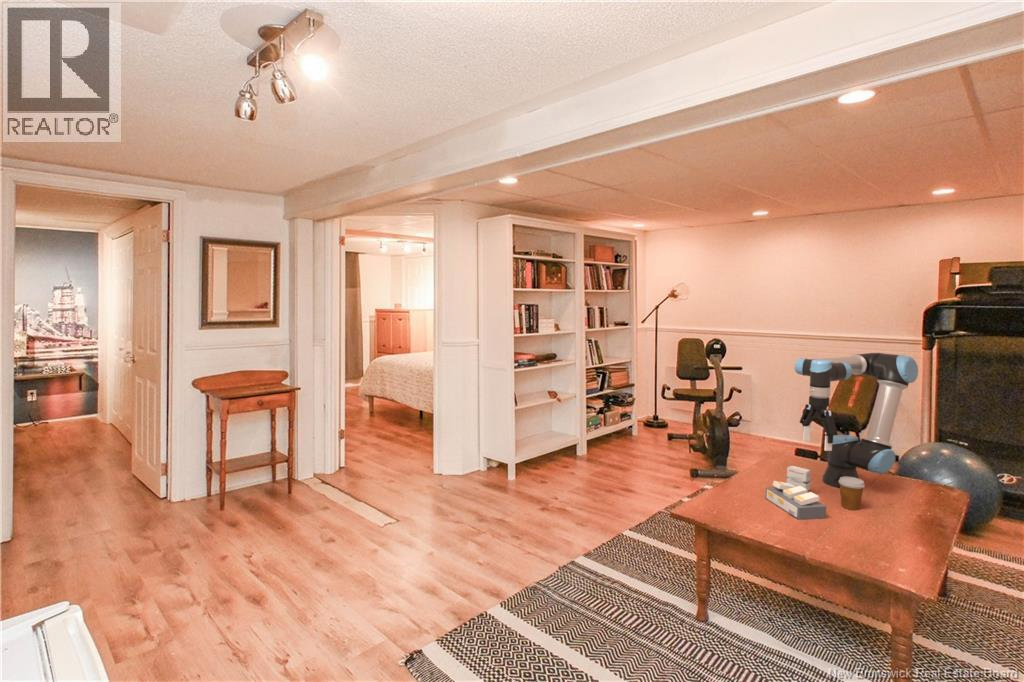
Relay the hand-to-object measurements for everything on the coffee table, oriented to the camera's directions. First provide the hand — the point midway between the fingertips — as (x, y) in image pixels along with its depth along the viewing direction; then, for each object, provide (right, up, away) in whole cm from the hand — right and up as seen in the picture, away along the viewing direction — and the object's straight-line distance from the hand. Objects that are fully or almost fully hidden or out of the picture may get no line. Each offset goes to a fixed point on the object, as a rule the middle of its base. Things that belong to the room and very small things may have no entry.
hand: (816, 445), depth 225 cm
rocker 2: (-9, -20, 0) cm, 22 cm away
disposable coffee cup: (+15, -27, +1) cm, 31 cm away
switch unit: (-9, -27, 0) cm, 28 cm away
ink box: (+1, -25, +16) cm, 30 cm away
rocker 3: (-8, -20, -7) cm, 23 cm away
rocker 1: (-10, -19, +7) cm, 23 cm away
